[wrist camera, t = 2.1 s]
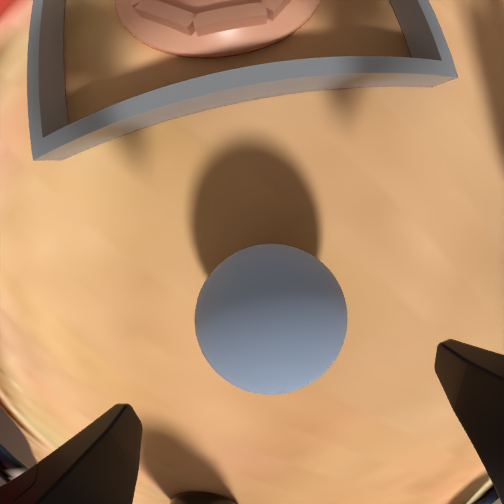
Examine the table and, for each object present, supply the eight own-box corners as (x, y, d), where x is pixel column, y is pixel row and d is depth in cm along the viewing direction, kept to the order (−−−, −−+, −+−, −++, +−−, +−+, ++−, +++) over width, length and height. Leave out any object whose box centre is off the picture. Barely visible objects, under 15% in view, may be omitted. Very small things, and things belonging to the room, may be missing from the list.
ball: (317, 218, 14) (364, 252, 8) (332, 329, 15) (368, 404, 9) (191, 244, 14) (154, 294, 8) (222, 351, 15) (211, 434, 10)
